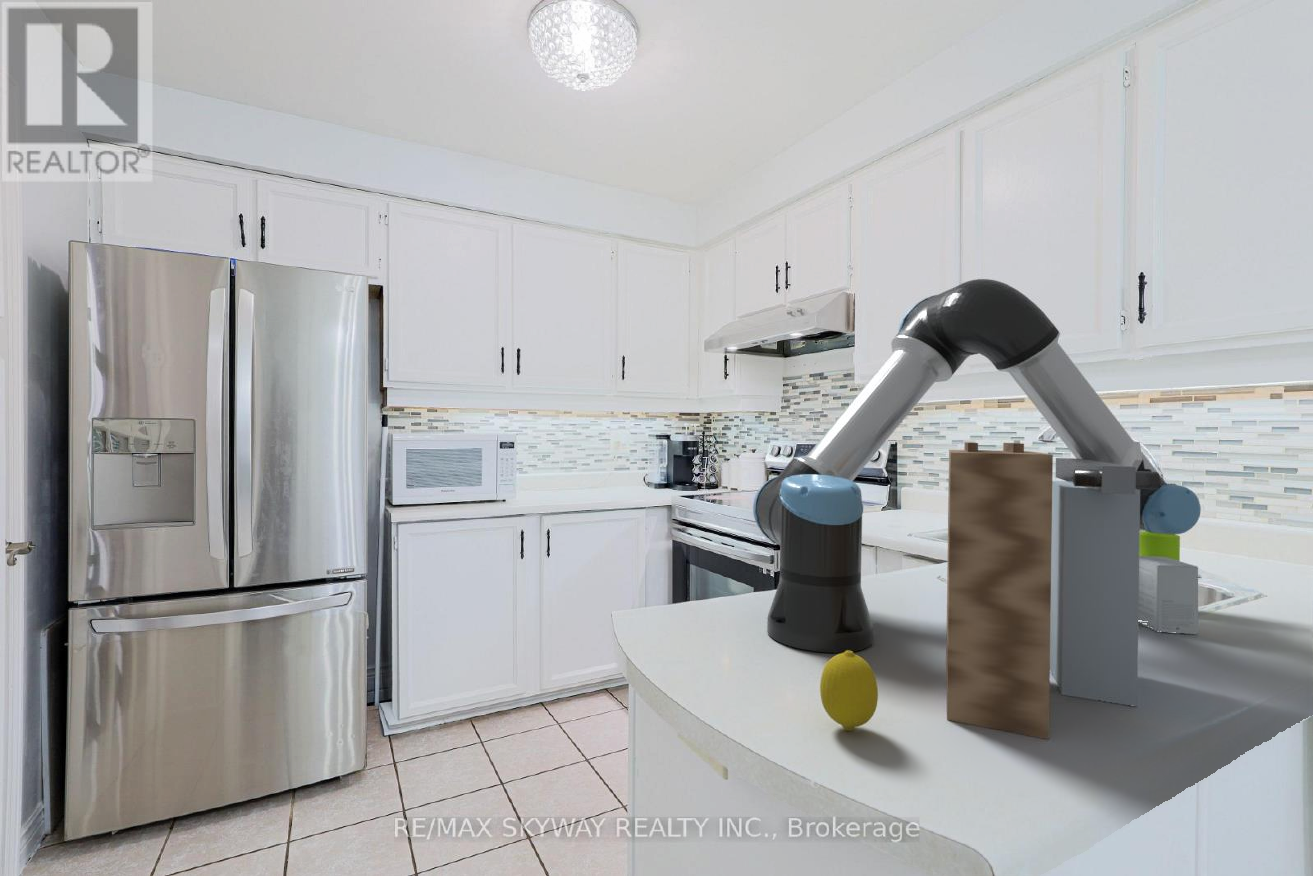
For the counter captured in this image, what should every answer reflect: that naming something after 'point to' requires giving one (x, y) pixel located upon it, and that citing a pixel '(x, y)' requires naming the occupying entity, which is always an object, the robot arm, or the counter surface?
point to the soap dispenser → (1159, 545)
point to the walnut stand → (999, 588)
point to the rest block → (1094, 593)
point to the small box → (1168, 595)
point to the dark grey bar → (1105, 476)
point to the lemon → (849, 690)
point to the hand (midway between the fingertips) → (1075, 449)
